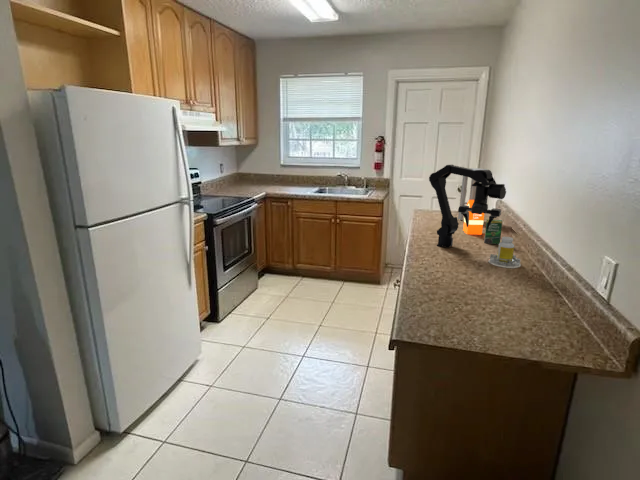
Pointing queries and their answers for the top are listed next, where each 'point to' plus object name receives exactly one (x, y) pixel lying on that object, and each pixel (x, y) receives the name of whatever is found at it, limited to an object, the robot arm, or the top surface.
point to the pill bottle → (505, 249)
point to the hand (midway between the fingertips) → (477, 228)
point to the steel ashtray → (510, 264)
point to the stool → (463, 192)
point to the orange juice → (474, 222)
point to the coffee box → (493, 232)
